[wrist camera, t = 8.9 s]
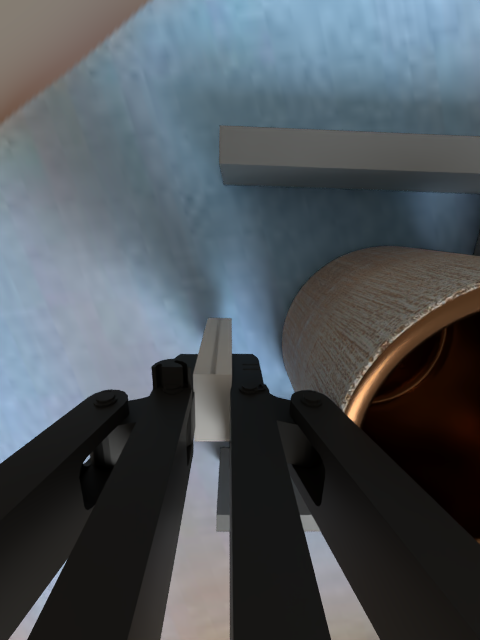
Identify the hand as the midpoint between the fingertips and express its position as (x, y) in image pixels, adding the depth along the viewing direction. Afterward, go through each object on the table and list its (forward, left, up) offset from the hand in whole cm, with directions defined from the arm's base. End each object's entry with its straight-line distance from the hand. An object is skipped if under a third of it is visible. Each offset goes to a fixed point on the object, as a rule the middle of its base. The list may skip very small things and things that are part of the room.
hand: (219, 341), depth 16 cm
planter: (+9, 0, -2) cm, 9 cm away
